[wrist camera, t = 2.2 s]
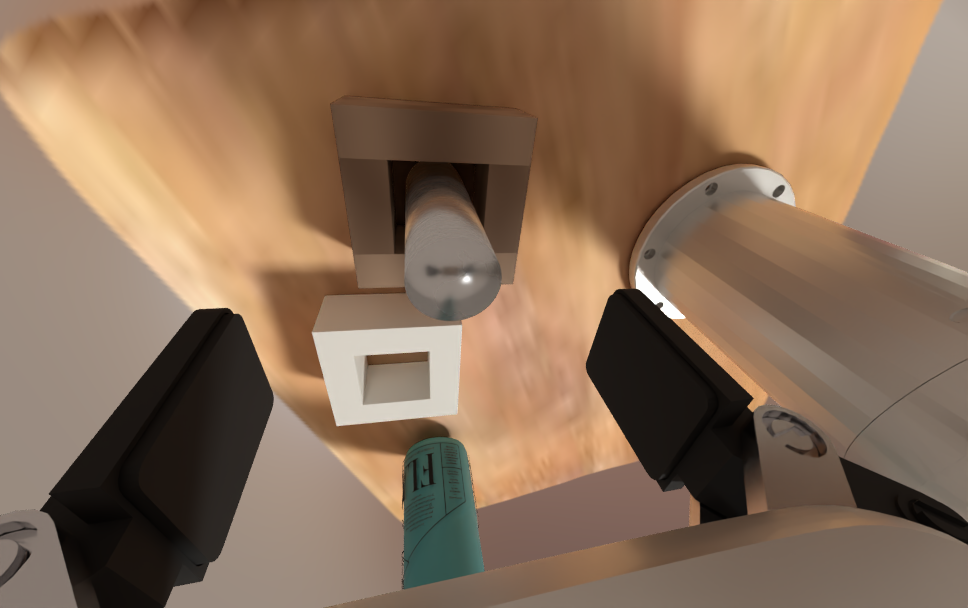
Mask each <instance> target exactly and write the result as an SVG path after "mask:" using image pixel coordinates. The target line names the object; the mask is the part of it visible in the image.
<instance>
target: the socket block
mask: <svg viewBox="0 0 968 608" xmlns="http://www.w3.org/2000/svg"><path fill="white" fill-rule="evenodd" d="M330 105H331V111H332V118H333V125H334V131H335V138H336V144H337V151H338V158H339V164H340V171H341V177H342V184H343V190H344V197H345V204H346V210H347V217H348V223H349V230H350V236H351V243H352V250H353V256H354V263H355V269H356V276H357V283H358V288H389V287H405V285H404V274H405V226H399V225H396V214H395V199H394V185H393V171H392V160H402V161H426V162H450V163H474V164H475V174H474V190H473V206H474V208H475V211H476V213H477V215H478V217H479V220H480V222H481V224H482V226H483V228H484V231H485V233H486V235H487V237H488V240H489V242H490V244H491V246H492V248H493V251H494V253H495V255H496V257H497V260H498V262H499V264H500V268H501V273H502V281H501V284H513V281H514V274H515V267H516V260H517V254H518V247H519V240H520V233H521V227H522V220H523V213H524V207H525V200H526V193H527V186H528V180H529V173H530V166H531V159H532V153H533V146H534V139H535V132H536V126H537V119H538V118H536V117H534V116H531V115H529V114H527V113H525V112H523V111H520V110H518V109H516V108H503V107H489V106H476V105H462V104H449V103H435V102H422V101H408V100H395V99H381V98H368V97H354V96H343V97H342V98H340V99H338V100H336V101H335V102H333V103H331V104H330Z"/></svg>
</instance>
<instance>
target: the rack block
mask: <svg viewBox="0 0 968 608" xmlns="http://www.w3.org/2000/svg"><path fill="white" fill-rule="evenodd" d="M312 335H313V339H314V343H315V346H316V350H317V354H318V358H319V361H320V365H321V369H322V373H323V377H324V380H325V384H326V388H327V392H328V395H329V399H330V403H331V407H332V410H333V414H334V418H335V422H336V425H337V426H344V425H354V424H364V423H374V422H384V421H394V420H404V419H414V418H424V417H434V416H444V415H454V414H457V411H458V393H459V374H460V356H461V338H462V322H461V320H458V321H443V320H437V319H434V318H431V317H429V316H426V315H425V314H423V313H421V312H420V311H419V310H418V309H416V308H415V307H414V305H413V304H412V303H411V302H410V300H409V298H408V296H407V294H406V293H389V294H357V295H325V296H324V299H323V302H322V305H321V308H320V311H319V314H318V316H317V319H316V322H315V325H314V328H313V331H312ZM427 351H428V361H425V362H410V363H396V364H381V365H368V362H367V355H379V354H395V353H411V352H427Z"/></svg>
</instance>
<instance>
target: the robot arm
mask: <svg viewBox="0 0 968 608" xmlns="http://www.w3.org/2000/svg"><path fill="white" fill-rule="evenodd" d="M629 281H630V285H631V289H618V290H616V291H615V292H614V294H613V295H611V296H610V297H609V298H608V301H607V304H606V307H605V309H604V312H603V315H602V318H601V321H600V324H599V327H598V330H597V333H596V335H595V338H594V341H593V344H592V347H591V350H590V353H589V356H588V359H587V361H586V370H587V373H588V375H589V377H590V379H591V380H592V382H593V384H594V385H595V387H596V389H597V390H598V392H599V394H600V395H601V397H602V399H603V400H604V402H605V404H606V405H607V407H608V409H609V410H610V412H611V414H612V415H613V417H614V419H615V420H616V422H617V424H618V425H619V427H620V429H621V430H622V432H623V434H624V435H625V437H626V439H627V440H628V442H629V444H630V445H631V447H632V449H633V450H634V452H635V454H636V455H637V457H638V459H639V460H640V462H641V463H642V465H643V467H644V469H645V470H646V472H647V473H648V475H649V476H650V477H651V478H652V479H654V480H656V481H657V482H658V484H659V486H660V487H661V489H662V491H663V492H665V491H671V490H675V489H681V488H682V487H683V486H684V485H685V486H686V487H687V489H688V490H689V492H690V520H689V527H685V528H681V529H676V530H671V531H667V532H662V533H658V534H653V535H648V536H644V537H639V538H635V539H630V540H626V541H621V542H616V543H611V544H607V545H602V546H598V547H593V548H589V549H584V550H580V551H575V552H571V553H566V554H561V555H558V556H553V557H548V558H544V559H539V560H534V561H530V562H525V563H521V564H517V565H512V566H507V567H503V568H499V569H494V570H489V571H485V572H480V573H476V574H471V575H467V576H462V577H458V578H453V579H449V580H444V581H440V582H435V583H431V584H426V585H422V586H418V587H413V588H409V589H404V590H400V591H396V592H392V593H387V594H382V595H378V596H374V597H369V598H365V599H360V600H356V601H351V602H347V603H343V604H339V605H334V606H329V607H325V608H968V272H966V271H963V270H960V269H958V268H955V267H953V266H950V265H947V264H945V263H942V262H939V261H937V260H934V259H931V258H929V257H926V256H923V255H921V254H918V253H916V252H913V251H910V250H908V249H905V248H902V247H900V246H897V245H895V244H892V243H889V242H886V241H884V240H881V239H878V238H876V237H873V236H871V235H868V234H866V233H863V232H860V231H858V230H855V229H852V228H850V227H847V226H844V225H842V224H839V223H837V222H834V221H831V220H829V219H826V218H823V217H821V216H818V215H815V214H813V213H810V212H807V211H805V210H802V209H800V208H797V207H796V206H795V196H794V192H793V190H792V188H791V185H790V183H789V182H788V181H787V180H786V179H785V178H784V177H783V176H782V175H781V174H779V173H778V172H776V171H774V170H772V169H769V168H766V167H762V166H759V165H755V164H740V163H739V164H734V165H728V166H723V167H720V168H717V169H714V170H712V171H709V172H706V173H704V174H702V175H701V176H699V177H697V178H695V179H693V180H692V181H690V182H688V183H687V184H686V185H684V186H683V187H682V188H680V189H679V190H678V191H676V192H675V193H674V194H672V195H671V196H670V197H669V198H668V199H667V200H666V201H665V202H664V203H663V204H662V205H661V206H660V207H659V208H658V209H657V211H656V212H655V213H654V214H653V216H652V217H651V218H650V219H649V221H648V222H647V223H646V225H645V227H644V229H643V230H642V232H641V234H640V235H639V237H638V239H637V242H636V244H635V247H634V249H633V252H632V255H631V260H630V265H629ZM670 318H673V319H676V318H686V319H687V320H688V321H690V322H691V323H692V324H693V325H694V326H695V327H696V328H697V329H698V330H699V331H700V332H701V333H702V334H704V335H705V336H706V337H707V338H708V339H709V340H710V341H711V342H712V343H713V344H714V345H715V346H716V347H718V348H719V349H720V350H721V351H722V352H723V353H724V354H725V355H726V356H727V357H728V358H729V359H730V360H732V361H733V362H734V363H735V364H736V365H737V366H738V367H739V368H740V369H741V370H742V371H743V372H744V373H745V374H747V375H748V376H749V377H750V378H751V379H752V380H753V381H754V382H755V383H756V384H757V385H758V386H759V387H761V388H762V389H763V390H764V391H765V392H766V393H767V394H768V395H769V396H770V397H771V398H772V399H773V400H775V401H776V402H777V403H778V404H779V405H780V406H781V407H780V406H776V405H762V406H758V407H757V408H756V409H755V410H754V412H752V411H751V410H750V409H749V408H748V407H747V406H748V405H749V404H750V402H751V401H752V400H753V399H754V398H753V397H752V396H751V395H750V394H749V393H748V392H747V391H746V390H745V389H744V388H742V387H741V386H740V385H739V384H738V383H737V382H736V381H735V380H734V379H733V378H732V377H731V376H730V375H729V374H728V373H727V372H726V371H725V370H724V369H723V368H722V367H721V366H719V365H718V364H717V363H716V362H715V361H714V360H713V359H712V358H711V357H710V356H709V355H708V354H707V353H706V352H705V351H704V350H703V349H702V348H701V347H700V346H699V345H698V344H697V343H695V342H694V341H693V340H692V339H691V338H690V337H689V336H688V335H687V334H686V333H685V332H684V331H683V330H682V329H681V328H680V327H679V326H678V325H677V324H676V323H675V322H674V321H673V320H671V319H670ZM273 400H274V397H273V392H272V389H271V387H270V384H269V382H268V379H267V377H266V375H265V372H264V370H263V367H262V365H261V362H260V360H259V357H258V355H257V352H256V350H255V347H254V345H253V342H252V340H251V337H250V335H249V333H248V330H247V328H246V325H245V323H244V320H243V318H242V316H241V315H240V314H233V312H232V311H231V310H230V309H228V308H216V309H199V310H195V311H194V312H193V313H192V314H191V316H190V317H189V318H188V320H187V321H186V322H185V323H184V324H183V326H182V327H181V328H180V329H179V331H178V332H177V333H176V335H175V336H174V337H173V338H172V339H171V341H170V342H169V343H168V345H167V346H166V347H165V348H164V350H163V351H162V352H161V353H160V355H159V356H158V357H157V358H156V360H155V361H154V362H153V363H152V365H151V366H150V367H149V368H148V370H147V371H146V372H145V373H144V375H143V376H142V377H141V378H140V380H139V381H138V382H137V384H136V385H135V386H134V387H133V389H132V390H131V391H130V392H129V394H128V395H127V396H126V397H125V399H124V400H123V401H122V402H121V404H120V405H119V406H118V407H117V409H116V410H115V411H114V412H113V414H112V415H111V416H110V417H109V419H108V420H107V421H106V422H105V424H104V425H103V426H102V428H101V429H100V430H99V431H98V433H97V434H96V435H95V436H94V438H93V439H92V440H91V441H90V443H89V444H88V445H87V446H86V448H85V449H84V450H83V451H82V453H81V454H80V455H79V456H78V458H77V459H76V460H75V461H74V463H73V464H72V465H71V466H70V468H69V469H68V470H67V472H66V473H65V474H64V475H63V477H62V478H61V479H60V480H59V482H58V483H57V484H56V485H55V487H54V488H53V489H52V490H51V492H50V493H49V495H51V497H50V498H49V499H48V501H47V502H46V503H45V505H44V506H43V507H42V508H41V510H40V511H38V510H21V511H14V512H10V513H7V514H3V515H0V608H164V607H165V605H166V602H167V600H168V598H169V596H170V593H171V591H172V589H173V587H175V586H180V585H185V584H190V583H195V582H200V581H203V578H204V575H205V573H206V570H207V567H208V565H209V562H213V561H215V560H216V559H217V558H218V556H219V555H220V553H221V551H222V548H223V546H224V543H225V540H226V537H227V534H228V532H229V529H230V526H231V523H232V520H233V517H234V515H235V512H236V509H237V506H238V503H239V500H240V498H241V495H242V492H243V489H244V486H245V484H246V481H247V478H248V475H249V472H250V469H251V467H252V464H253V461H254V458H255V455H256V452H257V450H258V447H259V444H260V441H261V438H262V436H263V433H264V430H265V427H266V424H267V421H268V418H269V416H270V413H271V410H272V407H273Z"/></svg>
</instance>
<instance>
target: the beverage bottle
mask: <svg viewBox="0 0 968 608" xmlns="http://www.w3.org/2000/svg"><path fill="white" fill-rule="evenodd" d="M404 460H405V461H403V462H404V465H403V467H404V470H402V472H403V471H404V479H403V499H402V509H403V502H404V521H403V519H402V522H403V524H404V551H403V552H404V558H403V559H404V561H403V562H404V576H403V578H404V580H403V579H402V580H403V581H402V583H403V585H404V586H403V587H404V588H403V590H404V589H409V588H413V587H418V586H422V585H426V584H431V583H435V582H440V581H444V580H449V579H453V578H458V577H462V576H467V575H471V574H476V573H480V572H485V571H484V565H483V558H482V552H481V547H480V539H479V533H478V525H477V516H476V509H475V503H474V496H475V495H474V496H473V493H474V492H473V490H472V484H473V483H472V481H473V480H472V481H471V477H470V474H472V473H470V470H469V467H470V468H471V466H470V465H469V464H468V462H469V461H468V457H467V452H466V450H465V448H464V446H463V444H462V443H461V442H459V441H458V440H456V439H453V438H448V437H434V438H429V439H425V440H422V441H420V442H418V443H416V444H415V445H413V446H412V447H411V448H410V449H409V450H408V452H407V454H406V457H405V459H404ZM402 478H403V476H402ZM473 487H474V486H473ZM474 494H475V493H474ZM475 500H476V499H475ZM476 507H477V506H476ZM403 552H402V553H403Z"/></svg>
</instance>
